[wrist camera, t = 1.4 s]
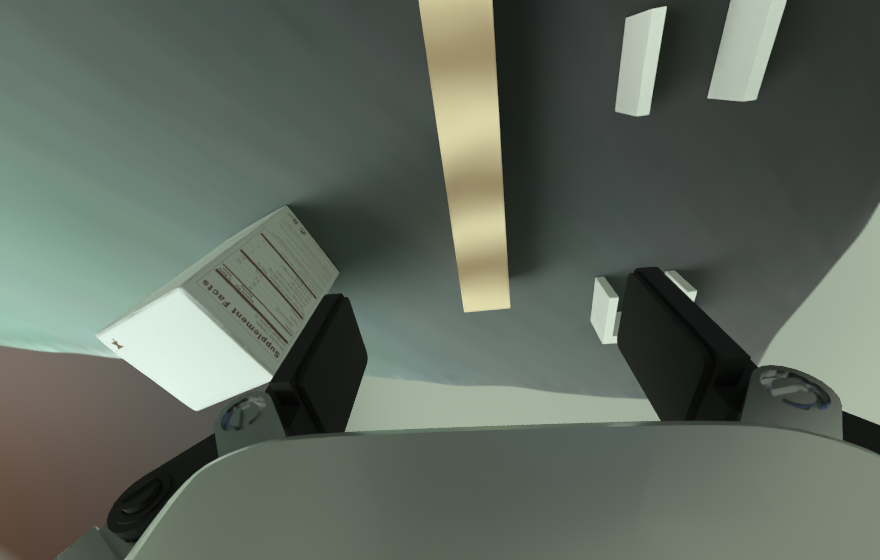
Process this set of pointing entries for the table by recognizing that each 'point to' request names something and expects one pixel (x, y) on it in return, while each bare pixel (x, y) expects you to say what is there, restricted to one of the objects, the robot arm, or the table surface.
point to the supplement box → (227, 313)
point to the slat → (470, 143)
